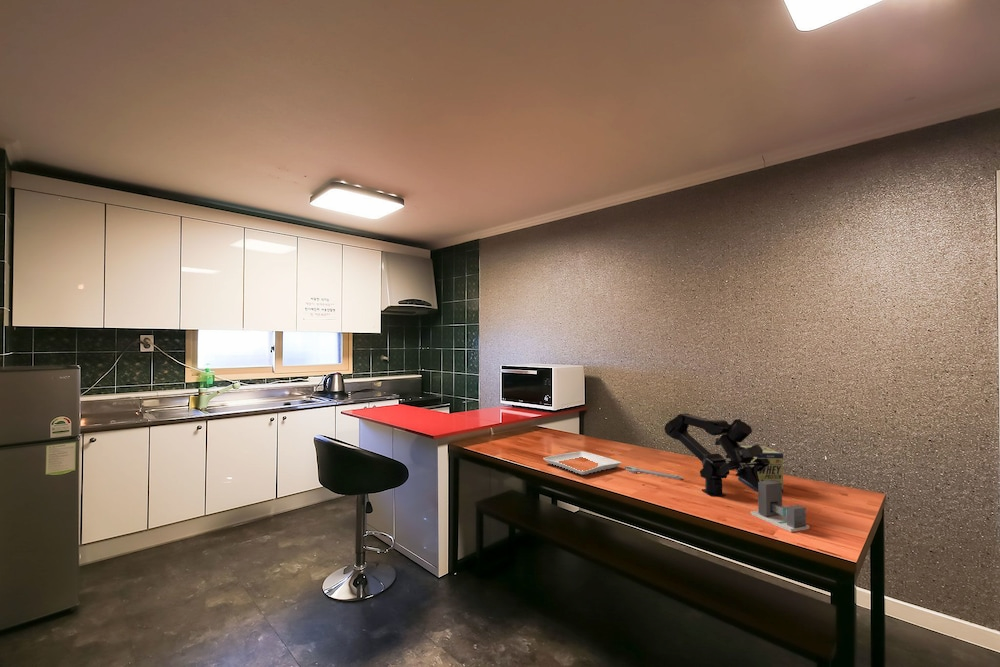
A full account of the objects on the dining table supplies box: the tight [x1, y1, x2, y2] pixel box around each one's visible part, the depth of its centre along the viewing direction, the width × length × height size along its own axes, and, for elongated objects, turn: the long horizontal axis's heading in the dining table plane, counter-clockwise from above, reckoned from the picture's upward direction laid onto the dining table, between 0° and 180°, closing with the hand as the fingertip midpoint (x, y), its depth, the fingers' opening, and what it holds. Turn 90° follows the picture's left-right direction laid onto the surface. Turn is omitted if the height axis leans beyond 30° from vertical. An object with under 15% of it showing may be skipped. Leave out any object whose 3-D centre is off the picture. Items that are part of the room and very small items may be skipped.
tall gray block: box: [757, 480, 783, 516], centre depth 143 cm, size 3×7×11 cm, turn 107°
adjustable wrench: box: [624, 465, 683, 481], centre depth 189 cm, size 25×6×2 cm, turn 52°
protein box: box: [737, 444, 784, 493], centre depth 176 cm, size 10×16×16 cm
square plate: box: [542, 450, 622, 475], centre depth 202 cm, size 27×27×4 cm
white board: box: [750, 509, 810, 533], centre depth 140 cm, size 14×8×1 cm, turn 17°
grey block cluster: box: [770, 502, 807, 528], centre depth 140 cm, size 14×5×6 cm, turn 17°
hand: (759, 488), depth 147 cm, fingers closed
